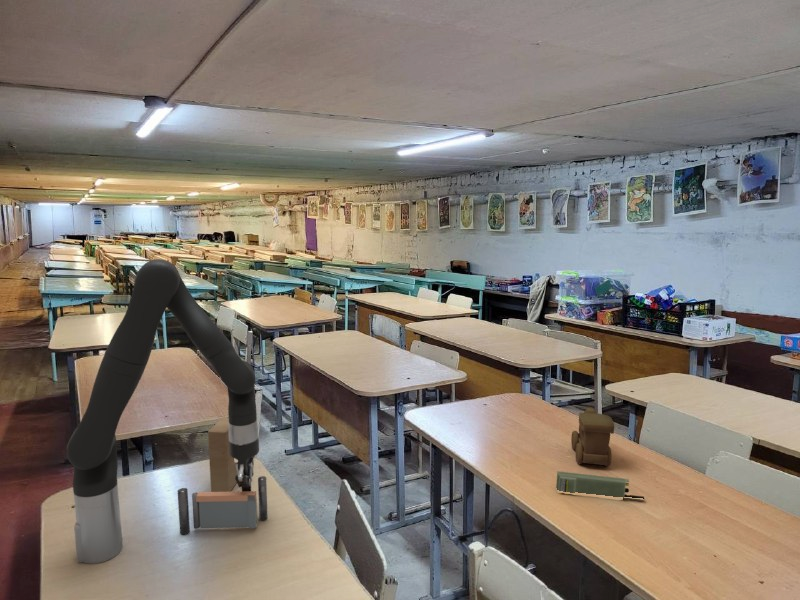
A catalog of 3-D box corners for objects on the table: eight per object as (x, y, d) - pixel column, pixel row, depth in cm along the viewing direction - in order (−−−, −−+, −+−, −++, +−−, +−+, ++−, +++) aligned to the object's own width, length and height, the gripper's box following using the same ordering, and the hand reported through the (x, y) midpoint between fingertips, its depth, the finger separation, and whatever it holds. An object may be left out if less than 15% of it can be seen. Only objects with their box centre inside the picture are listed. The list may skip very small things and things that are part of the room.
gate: (192, 529, 137) (190, 496, 136) (195, 524, 139) (193, 492, 138) (255, 528, 138) (254, 495, 136) (257, 523, 140) (256, 491, 138)
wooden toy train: (613, 473, 172) (617, 425, 169) (577, 470, 174) (580, 422, 171) (601, 447, 191) (605, 403, 189) (569, 444, 193) (572, 401, 191)
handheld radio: (555, 489, 162) (642, 499, 157) (556, 495, 159) (644, 505, 154) (557, 469, 161) (644, 479, 155) (558, 475, 158) (647, 485, 152)
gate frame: (179, 536, 136) (177, 493, 134) (180, 530, 138) (177, 488, 136) (268, 520, 143) (266, 480, 141) (267, 515, 146) (265, 475, 144)
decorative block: (225, 475, 167) (222, 416, 164) (242, 476, 167) (240, 417, 163) (209, 493, 156) (206, 430, 153) (228, 495, 156) (225, 431, 152)
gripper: (235, 426, 144) (238, 484, 147) (222, 448, 131) (226, 511, 134) (262, 425, 144) (265, 483, 148) (253, 447, 132) (256, 510, 135)
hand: (246, 496), depth 141 cm, fingers closed
